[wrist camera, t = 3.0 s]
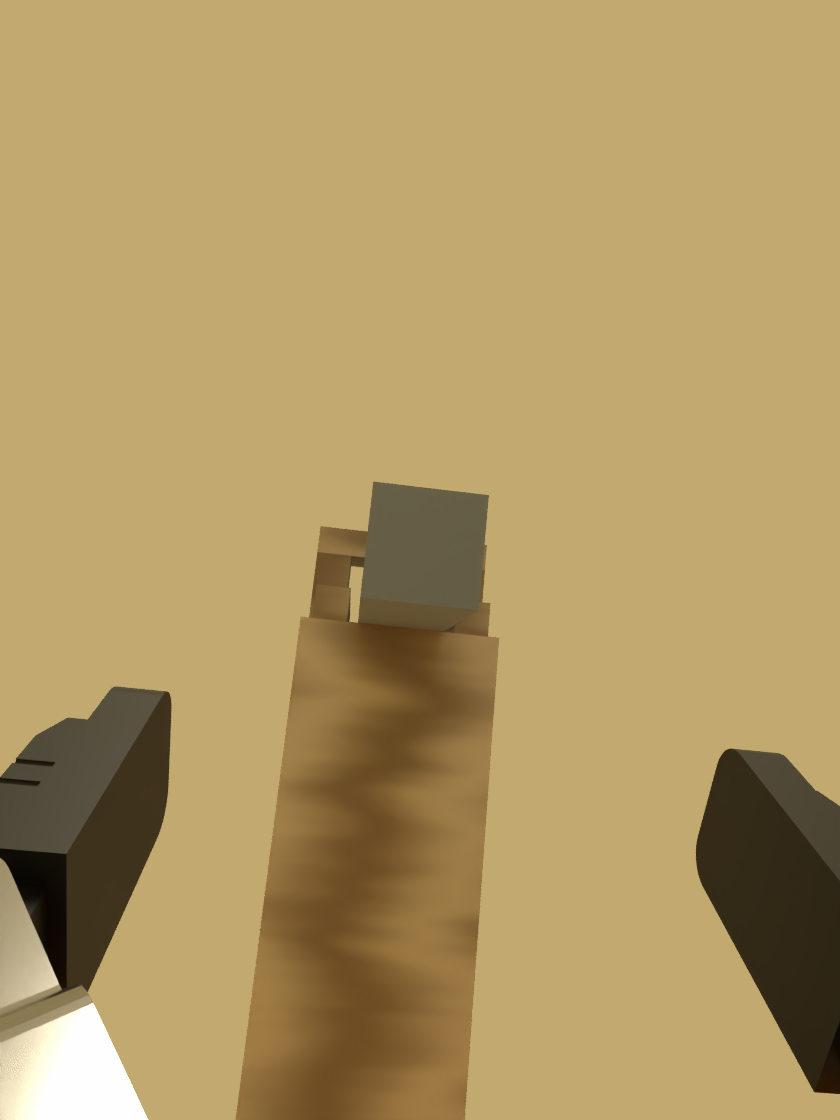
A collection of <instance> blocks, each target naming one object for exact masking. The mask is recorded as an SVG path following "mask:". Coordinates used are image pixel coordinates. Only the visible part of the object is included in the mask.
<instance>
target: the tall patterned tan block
mask: <svg viewBox="0 0 840 1120" xmlns="http://www.w3.org/2000/svg"><path fill="white" fill-rule="evenodd" d="M367 534H368V532H365V531H357V530H348V529H339V528H331V527H321V528H320V536H319V544H318V552H317V561H316V569H315V576H314V584H313V591H312V599H311V607H310V615H309V618H307V617H301V619H300V628H299V635H298V643H297V650H296V658H295V666H294V674H293V682H292V689H291V697H290V705H289V712H288V720H287V728H286V735H285V743H284V751H283V759H282V766H281V774H280V782H279V789H278V798H277V805H276V813H275V821H274V828H273V836H272V843H271V852H270V859H269V867H268V875H267V883H266V890H265V897H264V906H263V913H262V921H261V929H260V936H259V944H258V952H257V959H256V967H255V975H254V982H253V990H252V998H251V1005H250V1013H249V1021H248V1030H247V1037H246V1045H245V1052H244V1060H243V1067H242V1075H241V1083H240V1091H239V1098H238V1106H237V1114H236V1120H465V1106H466V1092H467V1077H468V1064H469V1050H470V1035H471V1022H472V1006H473V994H474V980H475V966H476V952H477V938H478V924H479V910H480V894H481V881H482V868H483V854H484V840H485V826H486V811H487V797H488V784H489V770H490V756H491V742H492V727H493V714H494V700H495V686H496V671H497V657H498V644H499V638H496V637H488V626H489V614H490V603H482V599H483V585H484V573H485V559H486V547H487V546H486V545H484V555H483V566H482V578H481V589H480V601H479V610H478V611H476V612H475V613H473V614H472V615H470V616H468V617H467V618H465V619H463V620H462V621H460V622H458V623H457V624H455V625H454V626H452V627H450V628H449V629H447V630H445V631H444V632H439V631H430V630H420V629H411V628H401V627H392V626H383V625H373V624H364V623H354V622H349V619H350V592H351V588H349V579H350V570H351V566H356V567H364V561H365V552H366V543H367Z"/></svg>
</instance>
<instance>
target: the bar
mask: <svg viewBox="0 0 840 1120" xmlns="http://www.w3.org/2000/svg"><path fill="white" fill-rule="evenodd" d="M488 497H489V495H481V494H473V493H465V492H455V491H448V490H439V489H431V488H422V487H414V486H405V485H397V484H389V483H380V482H373V490H372V499H371V508H370V517H369V526H368V534H367V543H366V552H365V561H364V570H363V579H362V588H361V597H360V608H359V620H358V623H364V624H373V625H383V626H392V627H401V628H411V629H420V630H430V631H439V632H444V631H445V630H447V629H449V628H450V627H452V626H454V625H455V624H457V623H458V622H460V621H462V620H463V619H465V618H467V617H468V616H470V615H472V614H473V613H475V612H476V611H478V610H479V601H480V589H481V578H482V566H483V555H484V543H485V532H486V520H487V509H488Z"/></svg>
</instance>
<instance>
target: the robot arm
mask: <svg viewBox="0 0 840 1120" xmlns="http://www.w3.org/2000/svg"><path fill="white" fill-rule="evenodd" d="M170 728H171V697H170V694H169V692H165V691H155V690H145V689H135V688H125V687H113V688H112V689H111V690H110V691H109V693H107V695H106V696H105V698H104V699H103V700H102V701H101V703H100V704H99V705H98V707H97V708H96V709H95V711H94V712H93V713H92V715H91V716H90V718H89V719H88V720H85V719H76V718H66V719H65V720H63V721H61V722H59V723H57V724H56V725H54V726H52V727H50V728H49V729H47V730H45V731H43V732H41V733H39V734H38V735H36V736H35V737H34V738H33V739H32V740H31V742H30V743H29V744H28V745H27V746H26V748H25V749H24V750H23V751H22V753H20V755H19V756H18V757H17V758H16V762H15V763H12V764H11V765H10V766H9V768H8V769H7V770H6V771H5V772H4V773H3V775H2V776H1V777H0V1120H148V1119H147V1117H146V1115H145V1113H144V1111H143V1109H142V1107H141V1105H140V1102H139V1100H138V1098H137V1096H136V1094H135V1092H134V1089H133V1087H132V1085H131V1083H130V1081H129V1079H128V1077H127V1075H126V1073H125V1070H124V1068H123V1066H122V1064H121V1062H120V1059H119V1057H118V1055H117V1053H116V1051H115V1049H114V1047H113V1044H112V1042H111V1040H110V1038H109V1036H108V1034H107V1032H106V1029H105V1027H104V1025H103V1023H102V1021H101V1019H100V1017H99V1015H98V1012H97V1010H96V1008H95V1006H94V1004H93V1002H92V1000H91V998H90V996H89V994H88V993H87V992H88V990H89V988H90V986H91V983H92V981H93V979H94V977H95V974H96V972H97V969H98V968H99V966H100V963H101V961H102V959H103V957H104V954H105V952H106V950H107V948H108V945H109V943H110V941H111V939H112V937H113V934H114V932H115V930H116V928H117V926H118V924H119V921H120V919H121V917H122V915H123V912H124V910H125V908H126V906H127V904H128V901H129V899H130V897H131V895H132V892H133V890H134V888H135V886H136V884H137V881H138V879H139V877H140V875H141V873H142V870H143V868H144V866H145V864H146V861H147V859H148V857H149V855H150V852H151V850H152V848H153V846H154V844H155V842H156V839H157V837H158V835H159V832H160V829H161V825H162V822H163V818H164V814H165V808H166V803H167V795H168V780H169V755H170V730H171V729H170ZM696 861H697V862H696V863H697V870H698V875H699V878H700V881H701V883H702V886H703V887H704V889H705V891H706V893H707V895H708V897H709V899H710V901H711V902H712V904H713V906H714V908H715V910H716V911H717V913H718V915H719V917H720V919H721V920H722V923H723V924H724V926H725V928H726V930H727V932H728V934H729V935H730V937H731V939H732V941H733V943H734V945H735V947H736V948H737V950H738V952H739V954H740V956H741V958H742V959H743V961H744V963H745V965H746V967H747V969H748V971H749V972H750V974H751V976H752V978H753V980H754V982H755V983H756V985H757V987H758V989H759V991H760V993H761V995H762V996H763V998H764V1000H765V1002H766V1004H767V1005H768V1008H769V1009H770V1011H771V1013H772V1015H773V1017H774V1019H775V1021H776V1022H777V1024H778V1026H779V1028H780V1030H781V1032H782V1033H783V1035H784V1037H785V1039H786V1041H787V1043H788V1045H789V1046H790V1048H791V1050H792V1052H793V1054H794V1055H795V1057H796V1059H797V1061H798V1063H799V1065H800V1066H801V1069H802V1070H803V1072H804V1074H805V1076H806V1078H807V1079H808V1081H809V1083H810V1085H811V1087H812V1089H813V1091H814V1092H819V1093H833V1094H840V806H839V805H837V804H836V803H834V802H833V801H831V800H830V799H828V798H827V797H826V796H824V795H823V794H821V793H820V792H818V791H815V789H814V788H813V787H812V786H811V785H810V784H809V783H808V782H807V781H806V779H805V778H804V777H803V776H802V775H801V774H800V773H799V771H798V770H797V769H796V768H795V767H794V766H793V765H792V764H791V762H789V760H788V759H787V758H786V757H785V756H784V755H781V754H779V753H769V752H760V751H750V750H739V749H728V750H726V751H725V752H724V753H723V754H722V755H721V757H720V759H719V761H718V764H717V768H716V771H715V775H714V779H713V782H712V786H711V790H710V794H709V797H708V801H707V805H706V809H705V813H704V816H703V820H702V823H701V827H700V831H699V835H698V839H697V845H696Z"/></svg>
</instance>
